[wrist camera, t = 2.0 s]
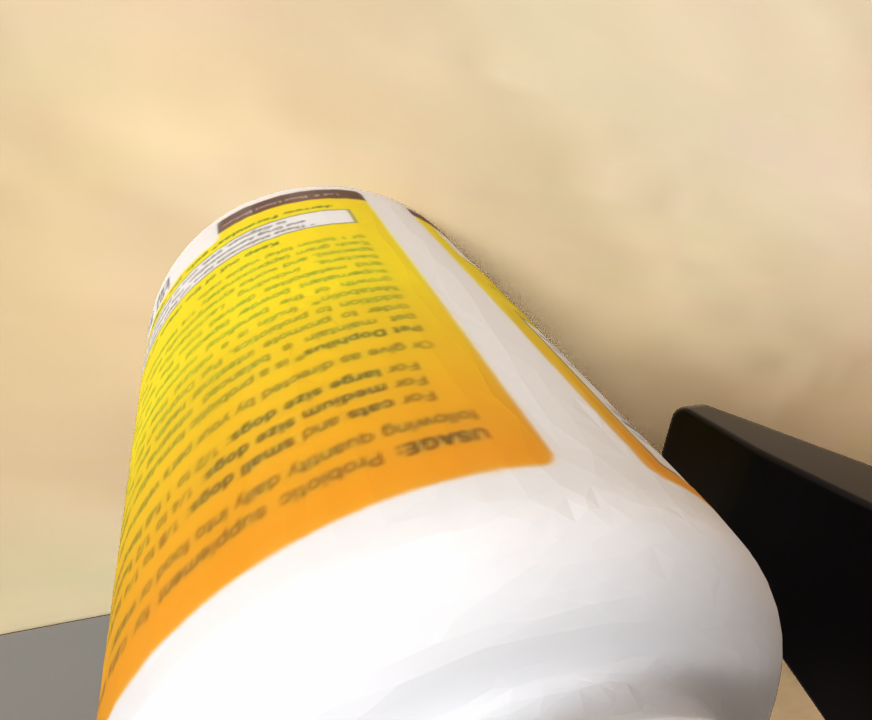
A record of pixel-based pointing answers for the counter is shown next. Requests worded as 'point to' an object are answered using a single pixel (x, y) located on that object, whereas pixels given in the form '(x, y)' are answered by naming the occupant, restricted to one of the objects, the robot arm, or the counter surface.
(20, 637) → the box
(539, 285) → the counter surface
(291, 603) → the supplement bottle
